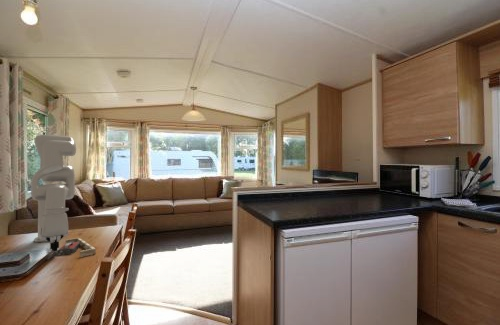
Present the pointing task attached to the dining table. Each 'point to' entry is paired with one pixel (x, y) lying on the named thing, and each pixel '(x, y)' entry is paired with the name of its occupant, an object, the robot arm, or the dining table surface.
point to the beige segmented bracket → (88, 247)
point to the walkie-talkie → (66, 249)
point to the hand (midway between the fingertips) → (54, 250)
